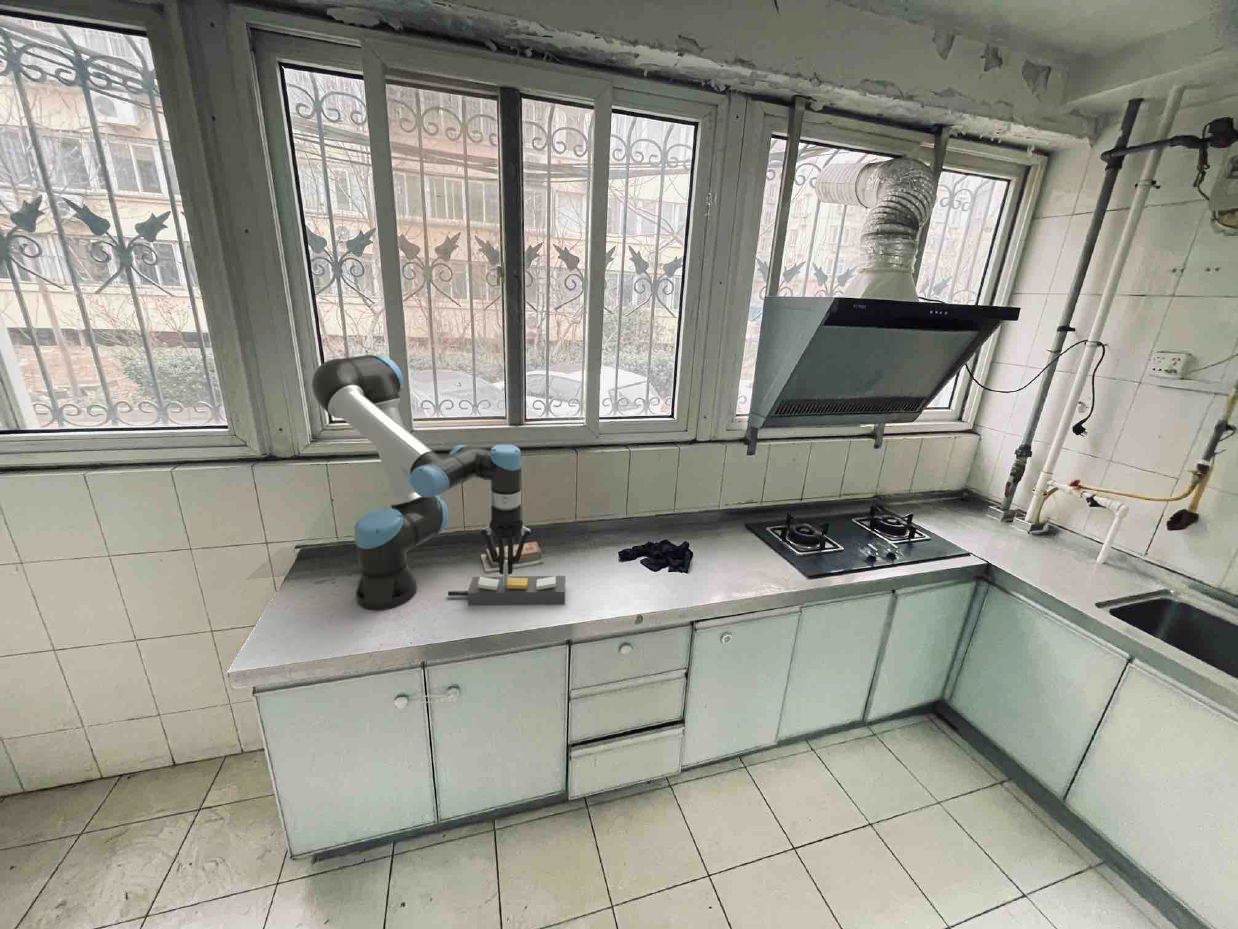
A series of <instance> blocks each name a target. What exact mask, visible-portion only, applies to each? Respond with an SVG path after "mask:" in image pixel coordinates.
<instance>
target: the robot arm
mask: <svg viewBox="0 0 1238 929" xmlns="http://www.w3.org/2000/svg"><path fill="white" fill-rule="evenodd" d="M311 382H312V383H311V388H312V394H313V395H314V398H315V400H316V401H317V403H318V404H319V406H320V407H321V408H323V410H324V411H326V413H328V414H329V415H330V416H331V417H333V418H336V419H341V420H343V421H345V423H347V424H348V425H349V426H351V428H353V429H354V430H355V431H357V432H358V433H359V434H360V435H361V436H363V437H364V438H365V439H366V440H368V441H369V442H370V443H371V444H373V445H374V446H375V448H376V450H377V453H378V456H379V460H380V462H381V464H382V468H383V470H384V474H385V476H386V478H387V481H388V484H389V487H390V490H391V492H392V496H393V497H392V500H391V501H390V508H381V509H380V510H378V509H375V510H373V511H369V512H368V513H365V514H364V515H362V516H361V517H360V518H359V519H358V520H357V522H356V523H355V525H354V543H355V546H356V552H357V559H358V565H359V573H360V574H359V579H358V582H357V585H356V591H355V597H356V603H357V604H358V606H360V607H361V608H364V609H367V610H372V611H383V610H389V609H393V608H396V607H399V606H401V605H404V604H406V602H408V601H411V599H412V598H413V597H414V596H415V594H416V593H417V589H418V588H417V586H418V585H417V581H416V578H415V576H414V575H413V573H412V571H411V569H410V566H409V565H408V558H407V552H409V551H410V550H412V549H414V548H415V547H418V546H420V545H421V544H423V543H424V542H426V541H428V540H430V539H434V538H435V537H436V536H437V535H438V534H440V533H441V532H443V531H444V529H445V528H446V526H447V525H448V523H449V510H448V506H447V504H446V503H445V501H444V500H442V498H441V497H440V496H438V495H442V494H444V493H445V492H447V491H449V490H451V489H452V488H455V487H457V486H460V485H462V484H464V483H466V482H468V481H470V480H472V479H475V478H477V479H481V480H485V481H490V503H491V510H490V512H491V513H490V515H491V520H490V522H489V524H488V525H487V526H485V525H484V526H482V528H481V531H480V534H481V536H482V537H484V539H485V543H486V545H487V549H489V552H490V555H491V559H492V561H493V562H497V563H499V571H498V573H499V575H503V586H507V584H508V580H509V576H510V575H513V571H514V569H513V563H515V562H516V563H518V562H519V559H520V556H521V553H522V550H523V547H524V543H526V540H527V539H528V537H529V536H530V535H531V528H530V527H529V526H528V527H526V526H524V523H523V521H522V505H521V504H522V484H521V483H522V467H523V463H522V452H521V449H520V448H519V447H517V445H513V444H505V443H504V444H496V445H493V447H491V449H490V450H487V449H484V448H481V447H476V446H474V445H465V444H458V445H456V446H455V447H453V449H452V450H450V452H449V454H448V455H447V456H445V457H441V456H439V454H437V453H436V452H435V451H433V450H432V449H431V448H429V447H428V446H427V445H426V444H424V443H423V442H422V441H421V440H419V438H417V437H416V436H415V435H413V434H412V433H411V432H409V431H408V430H407V429H406V428H405V426H404V425H405V424H404V422H403V419H402V417H401V414H400V411H399V409H398V405H399V403H400V401H401V396H400V394H399V393H401V391H402V390H403V388H404V386H403V384H404V378H403V373H402V371H401V369H400V368H399V366H398V364H396V362H395V361H393V359H390V358H389V357H387V356H385V355H382V354H368V355H360V356H350V357H343V358H333V359H328V360H326V361H325V362H323V363H322V364H320V365H319V366H318V367H317V369H316V370H315V371H314V374H313V376H312V380H311ZM520 531H521V532H520ZM492 532H493V534H495V536H496V537H497V543H498V547H499V556H498V554H497V551H496V547H497V546H496V545H495V541H494V538H493V535H492ZM519 532H520V535H521V536H520V540H519V543H518V544H519V546H518V549H517V552H516V556H513V546H514V545H515V543H514V542H515V541H514V538H515V537H516V536H517V534H518V533H519ZM505 539H507V546H508V560H505V546H506V545H505Z"/></svg>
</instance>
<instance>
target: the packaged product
mask: <svg viewBox="0 0 1238 929" xmlns="http://www.w3.org/2000/svg"><path fill="white" fill-rule="evenodd" d="M518 546H519V543H518V544H514V546H513V556H516V552H517V549H518ZM495 547H496V551H497V554H498V556H499V546H498V547H497V546H495ZM480 559H481V562H482V565H483V571H484V572H485V574H491V573H494V572H499V563H497V562H493V561H492V559H491V555H490V552H489V549H488V548H486V549H485V553H482V554H480ZM505 560H508V545H505ZM541 564H544V560H543V558H542V551H541V548H540V546H539V545H538V542H537V541H532V542H525V543H524V547H523V550H522V553H521V556H520V559H519V562H518V563H516V562H515V563H513V570H514V569H520V568H525V567H531V566H534V565H541Z"/></svg>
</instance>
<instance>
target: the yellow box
mask: <svg viewBox="0 0 1238 929" xmlns="http://www.w3.org/2000/svg"><path fill="white" fill-rule="evenodd" d="M527 583H528V578H509V580H508V584H507V588H518V589H527Z"/></svg>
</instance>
